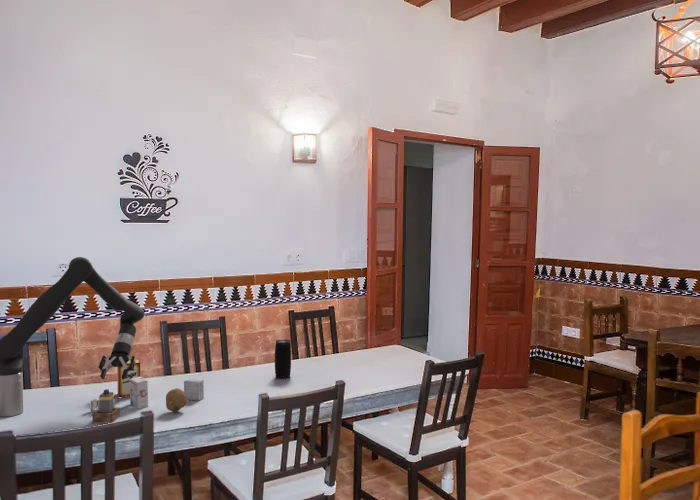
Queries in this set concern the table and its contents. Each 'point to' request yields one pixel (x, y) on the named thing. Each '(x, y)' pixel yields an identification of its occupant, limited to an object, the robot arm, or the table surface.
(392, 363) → the table surface
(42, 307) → the robot arm
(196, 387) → the medicine box
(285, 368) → the portable speaker
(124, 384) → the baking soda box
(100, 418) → the open wooden box
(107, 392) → the gray square bottle
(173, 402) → the natural sponge
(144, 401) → the ink box
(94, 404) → the clip
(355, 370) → the table surface
